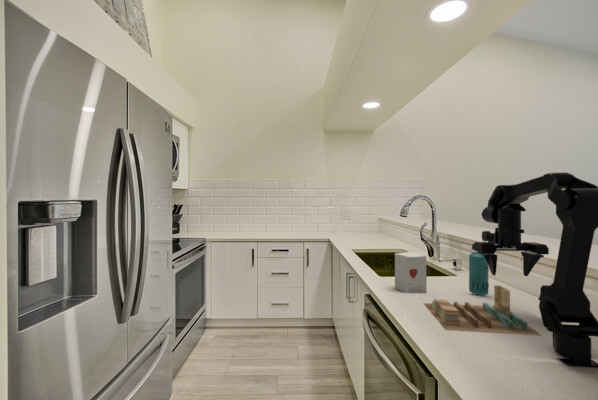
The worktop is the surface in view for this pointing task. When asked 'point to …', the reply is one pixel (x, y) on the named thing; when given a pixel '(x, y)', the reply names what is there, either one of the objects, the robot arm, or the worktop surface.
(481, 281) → the beverage bottle
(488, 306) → the rack
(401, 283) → the supplement box
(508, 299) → the tan rectangular block
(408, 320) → the worktop surface
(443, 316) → the offcut stack
